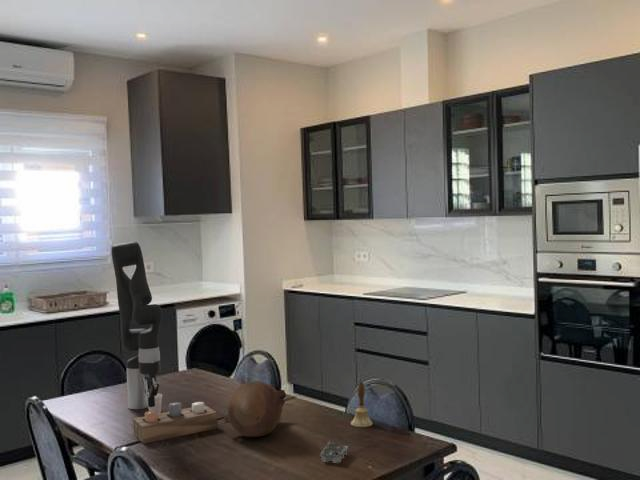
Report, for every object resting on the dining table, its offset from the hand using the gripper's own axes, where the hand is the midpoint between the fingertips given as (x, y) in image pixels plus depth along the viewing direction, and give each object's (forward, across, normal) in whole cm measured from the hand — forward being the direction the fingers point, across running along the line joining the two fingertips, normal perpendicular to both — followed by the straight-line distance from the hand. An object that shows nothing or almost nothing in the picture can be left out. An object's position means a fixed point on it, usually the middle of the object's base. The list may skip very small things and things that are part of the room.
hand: (151, 406), depth 233 cm
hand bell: (+11, +36, +69) cm, 78 cm away
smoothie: (+11, -19, +7) cm, 23 cm away
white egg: (+8, 0, +18) cm, 20 cm away
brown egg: (+8, 0, 0) cm, 8 cm away
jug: (+11, +19, +35) cm, 42 cm away
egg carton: (+11, +58, +42) cm, 72 cm away
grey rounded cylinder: (+7, 0, +9) cm, 11 cm away
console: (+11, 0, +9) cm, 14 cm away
